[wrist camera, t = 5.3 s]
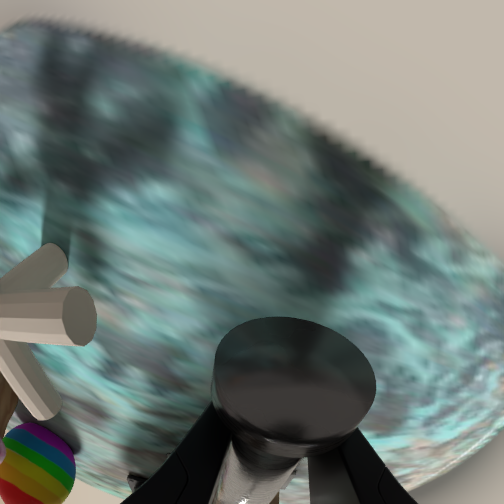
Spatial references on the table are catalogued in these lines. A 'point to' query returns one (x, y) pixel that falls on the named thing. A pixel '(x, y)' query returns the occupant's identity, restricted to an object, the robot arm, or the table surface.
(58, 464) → the decorative egg
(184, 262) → the table surface
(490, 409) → the table surface
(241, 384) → the shaft
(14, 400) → the cupcake
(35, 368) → the pipe connector
